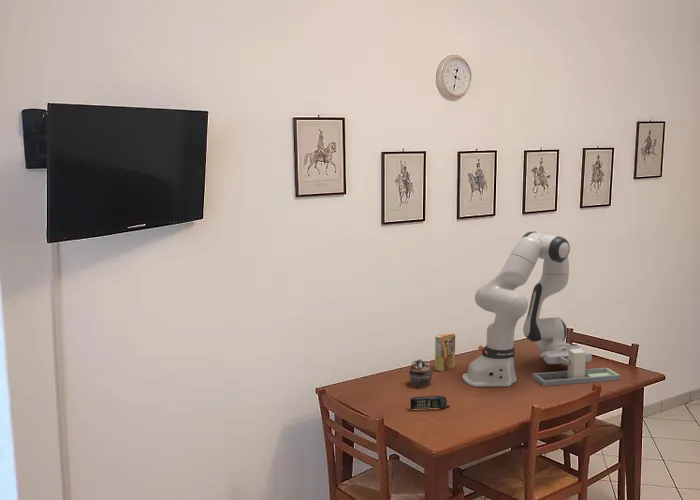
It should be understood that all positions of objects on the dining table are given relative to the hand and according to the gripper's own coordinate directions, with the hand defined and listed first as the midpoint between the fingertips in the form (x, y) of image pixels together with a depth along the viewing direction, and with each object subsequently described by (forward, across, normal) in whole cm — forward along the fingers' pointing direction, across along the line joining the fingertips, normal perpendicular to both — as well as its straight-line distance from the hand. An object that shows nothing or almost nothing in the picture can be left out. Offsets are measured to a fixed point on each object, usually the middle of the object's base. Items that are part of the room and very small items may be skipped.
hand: (576, 362), depth 277 cm
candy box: (-25, -49, +8) cm, 55 cm away
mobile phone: (+18, -69, +8) cm, 71 cm away
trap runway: (0, 0, +7) cm, 7 cm away
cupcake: (-8, -65, +8) cm, 66 cm away
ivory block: (0, 0, +7) cm, 7 cm away
